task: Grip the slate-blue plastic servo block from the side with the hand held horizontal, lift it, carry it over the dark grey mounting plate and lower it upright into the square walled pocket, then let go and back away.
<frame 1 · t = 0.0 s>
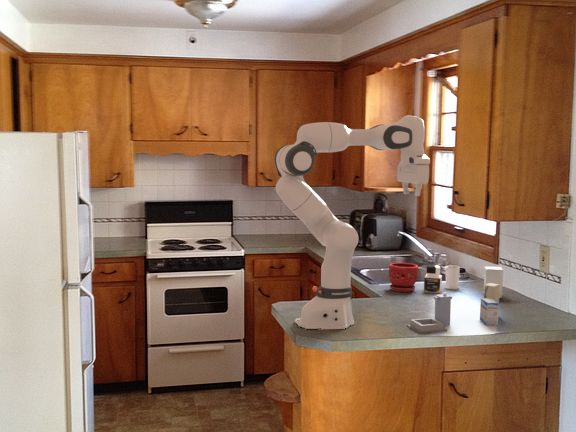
hand: (411, 194, 272), 48 cm above the worktop, tool pointing down, fingers open, 8 cm apart
plant pot: (403, 290, 327), on the worktop
supplement box: (492, 296, 315), on the worktop
pocket plate: (426, 328, 261), on the worktop
drinking glass: (451, 288, 332), on the worktop
medicine box: (488, 323, 270), on the worktop
servo: (442, 324, 267), on the worktop
medicine bottle: (432, 291, 325), on the worktop
box: (490, 317, 279), on the worktop
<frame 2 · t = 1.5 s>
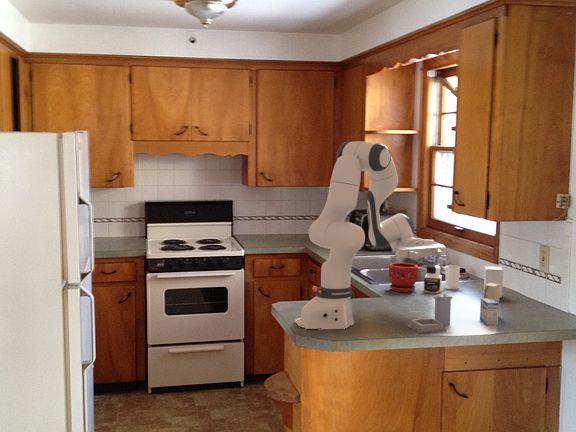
hand: (429, 254, 276), 25 cm above the worktop, tool horizontal, fingers open, 8 cm apart
nothing on the worktop moved.
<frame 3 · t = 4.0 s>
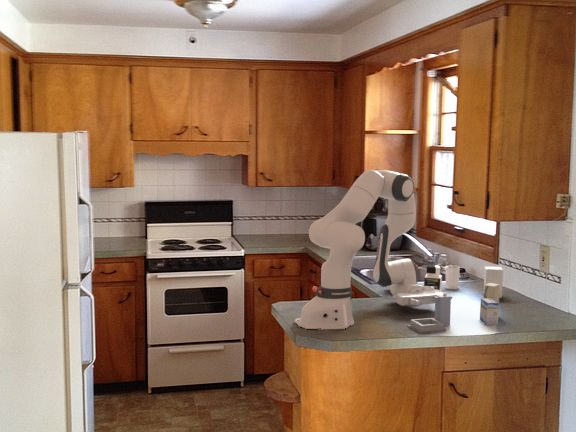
hand: (429, 302, 276), 6 cm above the worktop, tool horizontal, fingers open, 8 cm apart
nothing on the worktop moved.
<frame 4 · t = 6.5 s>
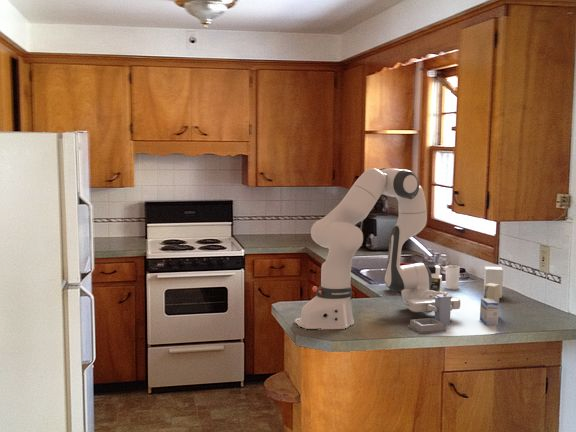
hand: (443, 309, 266), 6 cm above the worktop, tool horizontal, fingers closed on servo, 4 cm apart
servo: (442, 324, 267), on the worktop, touching gripper
everything else where it was.
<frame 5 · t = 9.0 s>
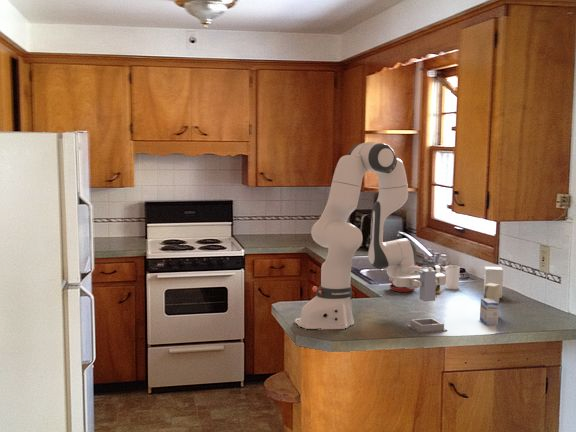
hand: (428, 284, 259), 17 cm above the worktop, tool horizontal, fingers closed on servo, 4 cm apart
servo: (427, 299, 260), point 11 cm above the worktop, touching gripper
everything else where it was.
when the fingers open (8 cm above the worktop, at t = 11.5 s): servo drops 1 cm, resting on pocket plate.
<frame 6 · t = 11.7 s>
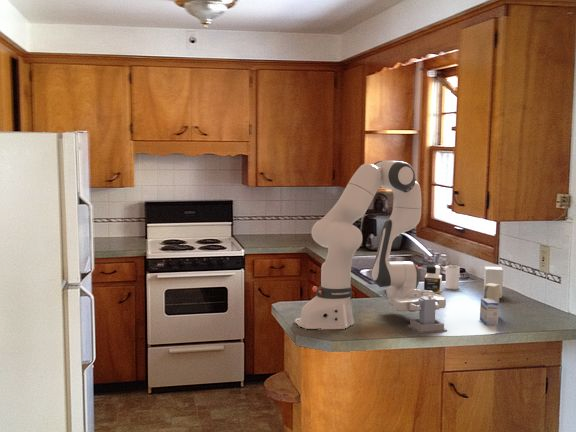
hand: (428, 308, 260), 8 cm above the worktop, tool horizontal, fingers open, 6 cm apart
servo: (426, 327, 261), resting on pocket plate
everything else where it was.
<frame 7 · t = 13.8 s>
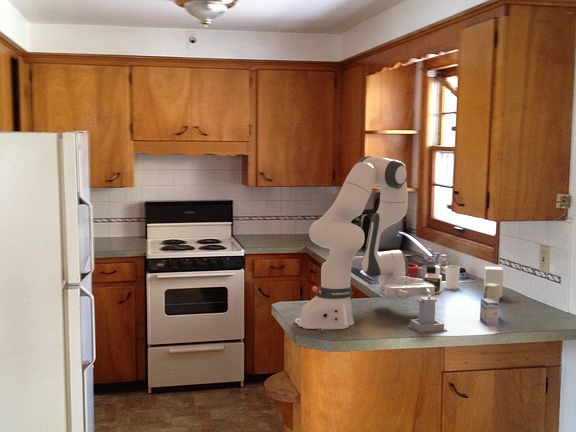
hand: (417, 293, 271), 10 cm above the worktop, tool horizontal, fingers open, 8 cm apart
nothing on the worktop moved.
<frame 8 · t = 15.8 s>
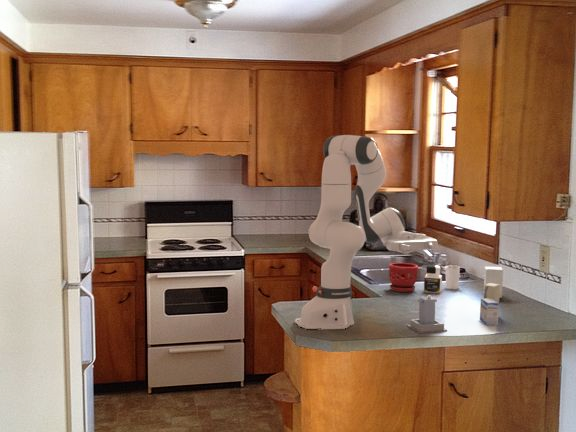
hand: (420, 247, 272), 28 cm above the worktop, tool horizontal, fingers open, 8 cm apart
nothing on the worktop moved.
at the end: servo 0.1 cm off-centre on the pocket plate, point 0.4 cm above the pocket plate's base; servo tilted 0°; the gripper is holding nothing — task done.
